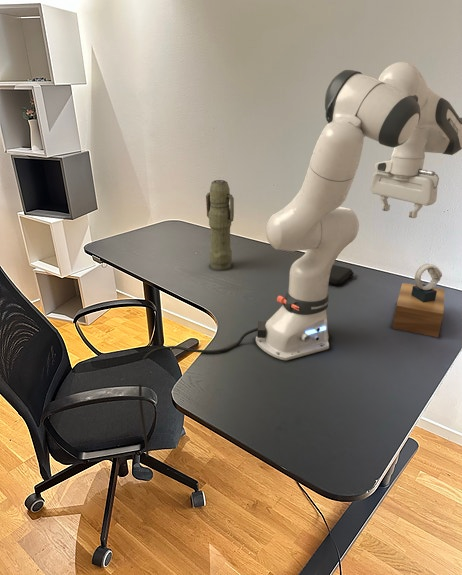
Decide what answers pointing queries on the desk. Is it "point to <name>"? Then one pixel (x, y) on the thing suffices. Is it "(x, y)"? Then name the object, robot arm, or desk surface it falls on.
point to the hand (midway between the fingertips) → (398, 214)
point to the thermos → (220, 224)
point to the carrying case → (339, 275)
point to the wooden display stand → (419, 312)
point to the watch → (426, 291)
